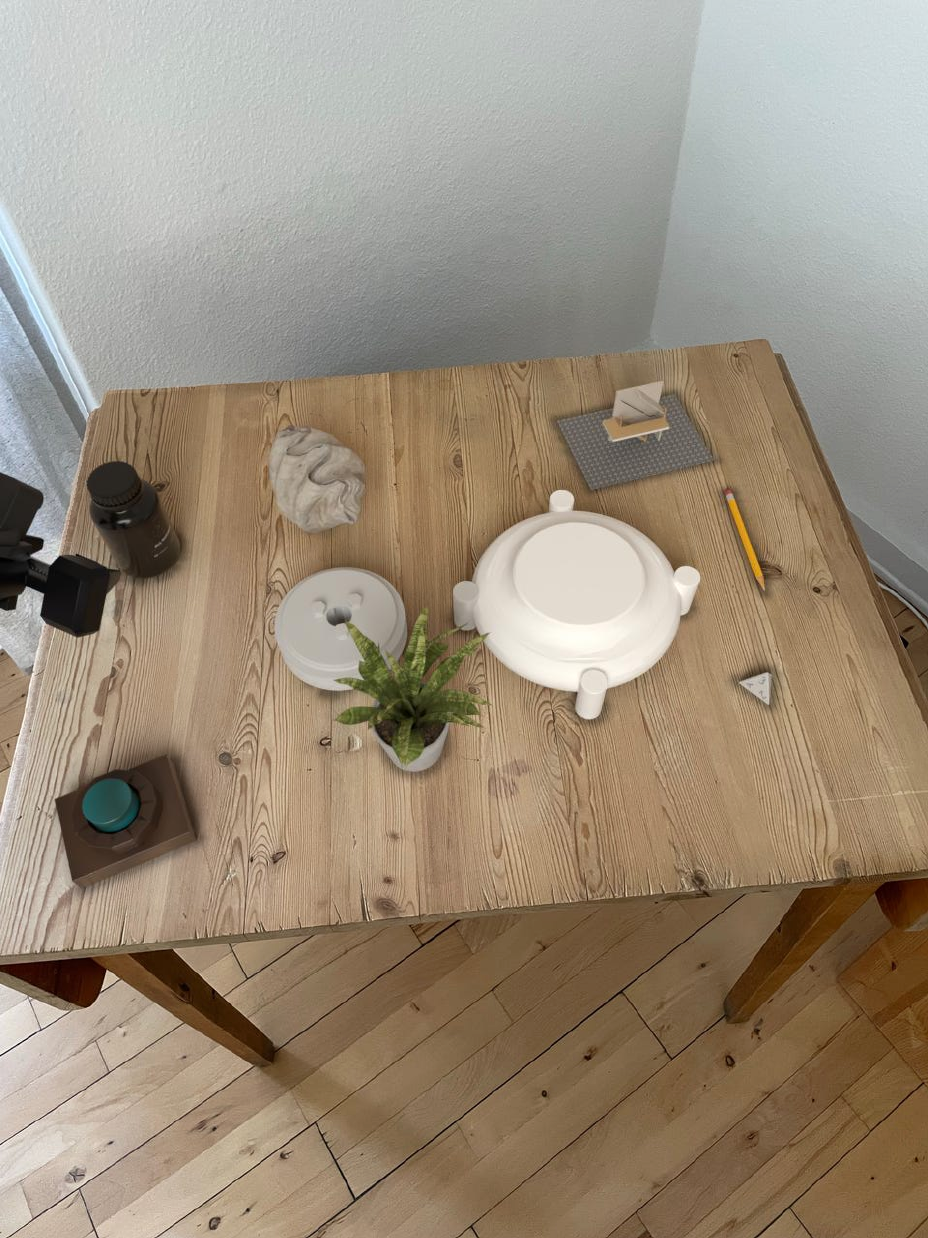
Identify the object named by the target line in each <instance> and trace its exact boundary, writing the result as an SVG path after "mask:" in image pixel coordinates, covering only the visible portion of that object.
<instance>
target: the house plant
mask: <svg viewBox="0 0 928 1238" xmlns="http://www.w3.org/2000/svg"><path fill="white" fill-rule="evenodd" d="M428 607H429V604H427V605H425V607H424V608H423V609H422V611H421V613H420V614H419V615H418V617H417V619H416V621H415V623H414V626H413V628H412V631H411V634H410V639H409V641H408V645H407V648H406V651H405V653H404V657H403V661H402V667H401V666H400V665H399V664H398V662H397V663H396V661H395V659H394V658H393V656H392V655H390V654H389V653H388V652H387V651H386V654H387V657H388V659H389V662H390V665H391V667H392V668H391V670H392V673H393V675H394V677H393V675H392V673H391V670H389V669H388V666H387V664H386V662H385V660H384V658H383V657H382V655H381V653H380V649H379V642H378V647H377V646H376V644H375V643H374V642H373V641H372V640H370V639H369V638H367V637H366V636H364V635H363V634H362V633H361V632H360V631H359V629H358V628H357V627H356V626H355V625H353V624H351V623H349V622H347V621H345V624H346V626H347V628H348V630H349V633H350V635H351V637H352V639H353V640H354V642H355V644H356V646H357V648H358V650H359V652H360V653H361V655H362V657H363V659H364V661H365V662H362V661H360V660H359V668H358V670H359V673H360V675H361V676H362V678H363V679H364V680H365V681H364V680H361V679H357V678H341V679H336V680H333V681H336V682H338V683H340V684H346V685H348V686H350V687H351V688H353V689H352V690H355V691H358V692H362V693H364V694H367V695H369V697H371V698H373V699H374V701H373V702H372V705H371V706H363V705H362V706H351V707H349V708H347V709H345V710H344V711H343V712H341V713H339V715H337V716H336V717H335V718H333V720H332V722H333V721H335V722H338V723H340V724H342V725H346V726H347V725H348V726H349V725H350V726H351V725H358V724H362V723H366V722H367V731H369V730H371V732H372V734H373V735H374V737H375V739H376V740H377V742H378V743H379V744H380V746H381V748H383V750H384V751H385V753H386V754H387V755H388V757H389V758H390V760H391V761H392V763H393V764H394V765H395V766H396V767H397V768H399V769H401V770H403V771H405V772H410V773H411V772H422V771H424V770H425V771H426V770H427V769H429V768H431V767H433V766H434V765H435V763H436V762H437V761H438V760H439V758H440V757H441V755H442V751H443V749H444V745H445V741H446V739H447V734H448V731H449V728H450V725H451V723H452V724H453V723H454V724H459V725H462V726H466V727H469V726H470V725H471V726H473V727H475V728H482V729H485V727H484V726H483V725H482V724H480V723H479V722H478V721H477V720H475V719H474V718H471V717H470V716H480V717H482V714H481V713H480V710H479V709H478V708H477V706H476V705H477V704H478V705H480V706H492V703H490V702H488V701H487V700H485V699H483V698H482V697H480V696H477V695H475V694H472V693H470V692H469V691H465V690H460V689H453V688H452V689H451V688H448V689H443V688H444V686H445V685H447V684H448V683H449V682H450V681H451V680H452V679H453V678H454V677H455V676H456V674H457V673H458V671H459V670H460V667H461V665H462V663H463V662H464V661H465V659H466V658H467V657H469V656H470V655H472V654H474V653H475V652H476V651H477V650H478V649H479V647H477V646H479V645H480V644H481V643H482V642H483V640H484V639H485V638H486V637H487V635H488V634H489V633H486V634H484V635H482V636H480V635H479V636H477V637H475V638H474V639H472V640H470V641H469V642H467V643H465V644H464V645H462V646H461V647H460V648H459V649H458V650H456V651H455V652H454V653H452V654H451V655H450V656H449V657H447V658H444V659H443V660H442V661H440V663H439V664H438V665H437V667H436V669H435V670H434V672H433V674H432V675H431V676H430V678H429V680H428V681H427V682H426V681H423V679H424V677H425V676H426V675H427V673H428V672H429V670H430V669H431V667H432V666H433V665H434V664H435V663H436V662H437V661H438V659H440V658H441V657H442V656H443V655H444V654H445V653H446V652H447V650H448V648H449V645H450V644H449V643H445V642H439V641H441V640H442V639H444V638H446V637H448V636H450V635H452V634H454V633H457V631H459V630H461V629H460V628H462V627H463V626H465V625H466V624H465V625H462V626H460V627H456V628H453V629H451V630H448V631H446V632H443V633H441V634H439V635H436V636H435V637H433V638H432V639H430V640H429V637H428V630H427V629H428V628H427V625H428V621H429V620H428V619H429V610H428V609H429V608H428ZM344 620H345V618H344ZM467 624H468V623H467ZM490 633H491V632H490Z"/></svg>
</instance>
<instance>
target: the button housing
mask: <svg viewBox="0 0 928 1238" xmlns="http://www.w3.org/2000/svg"><path fill="white" fill-rule="evenodd" d="M109 778H115V779H120V780H122V781H124V782H125V783H126V784H127V785H128V786H129V787H130V788H131V789H132V790H133V791H134V793H135V794H136V795H137V797H138V801H139V808H138V812H137V814H136V816H135V818H134V819H133V821H132V822H131V823H130V824H129V825H127V826H126V827H124V828H123V829H121V830H118V831H113V832H106V831H102V830H100V829H98V828H97V827H96V826H95V825H94V824H93V823H91V822H90V821H89V820H88V819H87V818H86V816H85V815H84V812H83V800H84V797H85V795H86V793H87V792H88V790H89V789H90V788H91V787H92V786H93V785H95V784H96V783H98V782H99V781H102V780H104V779H109ZM54 803H55V808H56V812H57V817H58V822H59V826H60V831H61V837H62V840H63V845H64V850H65V855H66V859H67V864H68V868H69V872H70V873H69V874H70V877H71V882H72V883H73V884H75V885H76V886H77V887H79V888H80V889H82V890H83V889H86V888H88V887H91V886H92V885H95V884H98V883H100V882H103V881H105V880H107V879H109V878H111V877H114V876H117V875H119V874H121V873H123V872H125V871H128V870H130V869H132V868H135V867H137V866H140V865H142V864H144V863H147V862H149V861H151V860H154V859H156V858H158V857H161V856H163V855H166V854H168V853H170V852H172V851H175V850H177V849H179V848H181V847H184V846H187V845H189V844H191V843H193V842H196V841H197V837H196V834H195V831H194V827H193V824H192V820H191V817H190V813H189V810H188V808H187V807H188V806H187V803H186V801H185V797H184V793H183V790H182V787H181V784H180V781H179V777H178V774H177V771H176V768H175V764H174V762H173V761H172V760H171V758H170V757H169V756H168V754H166V753H165V754H163V755H160V756H158V757H156V758H153V759H150V760H148V761H146V762H143V763H140V764H138V765H135V766H133V767H130V768H128V769H118V768H116V769H113V770H110V771H108V772H105V773H103V774H100V775H97V776H96V777H93V779H91V780H90V781H89V782H88V784H86V786H83V787H81V788H78V789H76V790H73V791H71V792H68V793H65V794H64V795H61V796H59V797H55V798H54Z"/></svg>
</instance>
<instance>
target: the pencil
mask: <svg viewBox="0 0 928 1238" xmlns="http://www.w3.org/2000/svg"><path fill="white" fill-rule="evenodd" d="M724 495H725V497H726V500H727V503H728V505H729V508H730V512H731V514H732V517H733V519H734V523H735V525H736V527H737V530H738V534H739V536H740V539H741V542H742V544H743V546H744V549H745V552H746V556H747V558H748V560H749V563H750V566H751V569H752V572H753V574H754V576H755V580H756V581H757V582H758V583H759V586H760V587H761V589H762V590H763V591H764V592H766V588H765V579H764V578H765V577H764V574H763V572H762V569H761V566H760V564H759V561H758V559H757V556H756V553H755V550H754V548H753V545H752V543H751V540H750V537H749V535H748V531H747V529H746V526H745V523H744V521H743V518H742V515H741V513H740V509H739V508H738V504H737V502H736V499H735V497H734V494H733V491H732V490H731V489H729V490H728V489H727V490H726V491H725V492H724Z"/></svg>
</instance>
